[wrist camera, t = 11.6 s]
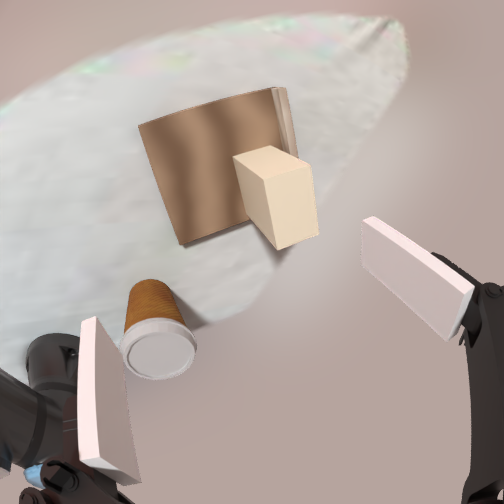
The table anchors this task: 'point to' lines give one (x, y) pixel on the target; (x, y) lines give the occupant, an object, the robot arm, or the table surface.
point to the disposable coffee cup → (155, 333)
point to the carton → (278, 195)
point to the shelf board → (213, 156)
